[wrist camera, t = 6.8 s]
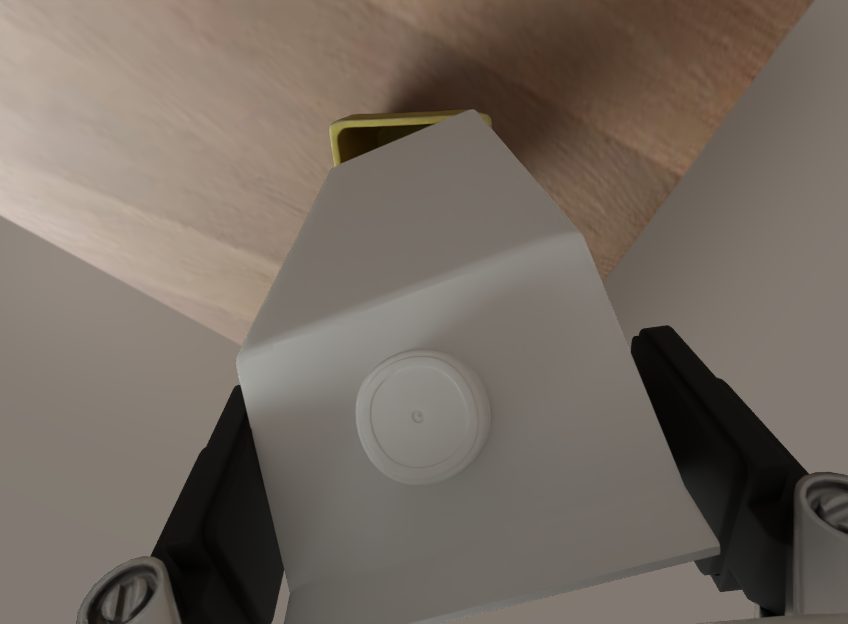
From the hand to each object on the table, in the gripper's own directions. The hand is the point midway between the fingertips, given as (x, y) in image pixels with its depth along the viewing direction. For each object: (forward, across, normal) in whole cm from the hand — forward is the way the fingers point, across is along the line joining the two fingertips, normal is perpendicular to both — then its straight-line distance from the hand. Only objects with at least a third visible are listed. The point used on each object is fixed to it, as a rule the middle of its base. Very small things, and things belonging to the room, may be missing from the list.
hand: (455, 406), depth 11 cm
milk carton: (+15, 0, 0) cm, 15 cm away
